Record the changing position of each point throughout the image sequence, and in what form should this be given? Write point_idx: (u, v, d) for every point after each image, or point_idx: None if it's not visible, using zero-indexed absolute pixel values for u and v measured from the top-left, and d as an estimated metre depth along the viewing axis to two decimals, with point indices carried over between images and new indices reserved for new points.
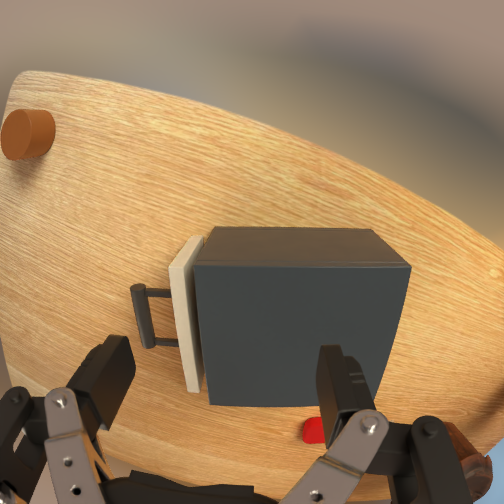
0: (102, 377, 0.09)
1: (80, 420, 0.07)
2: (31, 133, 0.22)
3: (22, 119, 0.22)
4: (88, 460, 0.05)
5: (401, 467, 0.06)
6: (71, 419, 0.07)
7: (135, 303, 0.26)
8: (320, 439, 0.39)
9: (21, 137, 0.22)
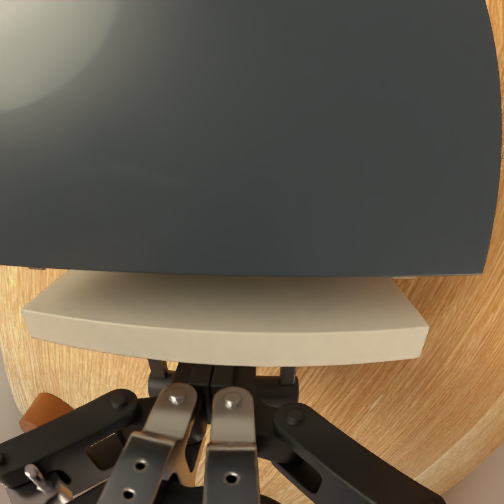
0: (213, 369, 0.10)
1: (186, 427, 0.07)
2: (32, 423, 0.18)
3: (26, 427, 0.19)
4: (161, 474, 0.05)
5: (273, 452, 0.08)
6: (177, 422, 0.07)
7: None
8: None
9: None
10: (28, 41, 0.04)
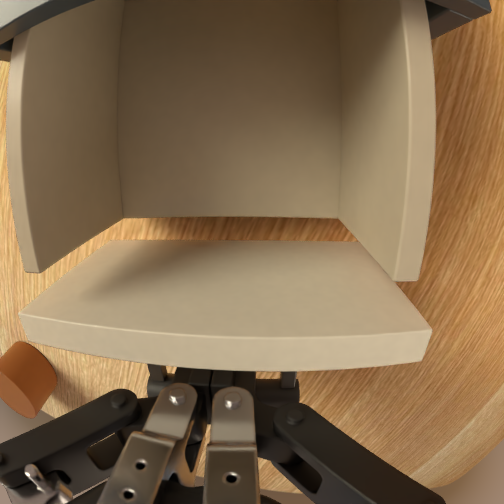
0: None
1: (186, 427, 0.07)
2: None
3: None
4: (162, 474, 0.05)
5: (273, 452, 0.08)
6: (177, 422, 0.07)
7: None
8: None
9: (9, 387, 0.16)
10: None
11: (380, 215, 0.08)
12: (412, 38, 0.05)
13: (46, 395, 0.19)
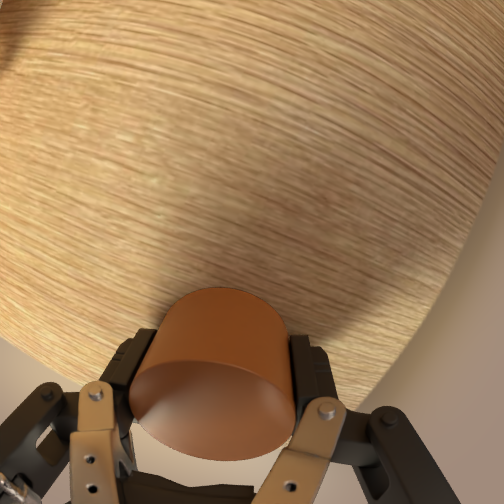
0: (137, 370, 0.10)
1: (113, 417, 0.07)
2: (129, 403, 0.09)
3: (177, 440, 0.09)
4: (111, 460, 0.05)
5: (362, 457, 0.07)
6: (104, 415, 0.07)
7: None
8: None
9: (174, 408, 0.08)
10: None
11: None
12: None
13: (242, 323, 0.10)
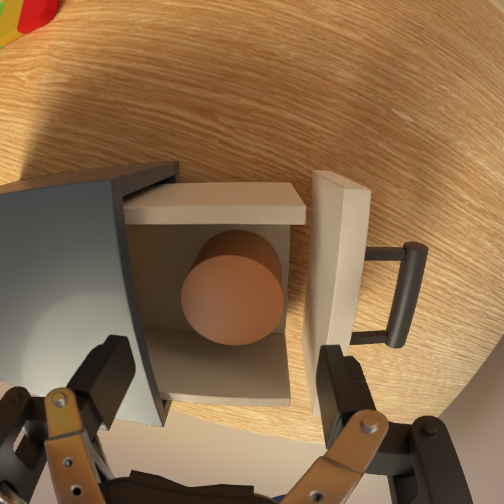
0: (102, 377, 0.09)
1: (80, 420, 0.07)
2: (180, 296, 0.16)
3: (208, 325, 0.16)
4: (88, 460, 0.05)
5: (401, 467, 0.06)
6: (71, 419, 0.07)
7: (405, 330, 0.16)
8: None
9: (210, 294, 0.16)
10: (67, 377, 0.14)
11: None
12: (156, 219, 0.12)
13: (251, 244, 0.17)
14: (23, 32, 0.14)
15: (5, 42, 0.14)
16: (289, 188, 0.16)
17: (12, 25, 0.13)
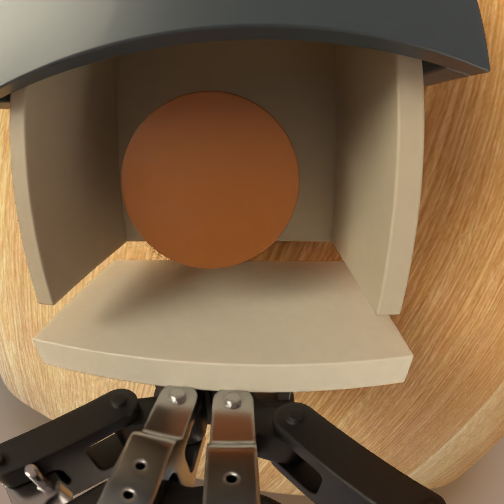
0: None
1: (186, 427, 0.07)
2: (215, 91, 0.08)
3: (157, 141, 0.08)
4: (162, 474, 0.05)
5: (273, 452, 0.08)
6: (177, 422, 0.07)
7: None
8: None
9: (222, 145, 0.08)
10: None
11: (367, 252, 0.09)
12: (404, 84, 0.06)
13: None
14: None
15: None
16: None
17: None
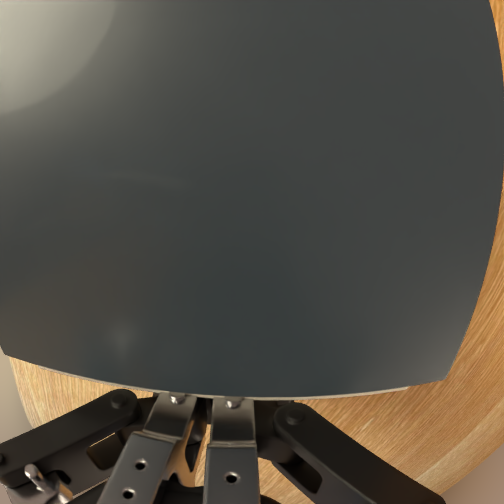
0: None
1: (185, 427, 0.07)
2: None
3: None
4: (161, 474, 0.05)
5: (273, 452, 0.08)
6: (177, 422, 0.07)
7: None
8: None
9: None
10: (11, 174, 0.05)
11: None
12: None
13: None
14: None
15: None
16: None
17: None
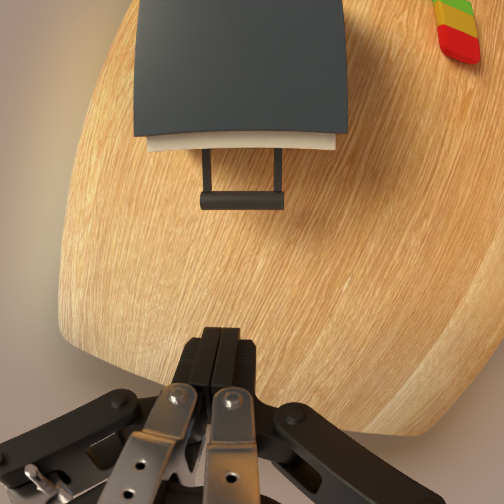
0: (213, 369, 0.10)
1: (186, 427, 0.07)
2: None
3: None
4: (162, 474, 0.05)
5: (273, 452, 0.08)
6: (177, 422, 0.07)
7: (217, 204, 0.23)
8: (471, 41, 0.20)
9: None
10: (177, 51, 0.16)
11: None
12: None
13: None
14: (439, 27, 0.21)
15: (436, 8, 0.20)
16: None
17: (448, 21, 0.19)
